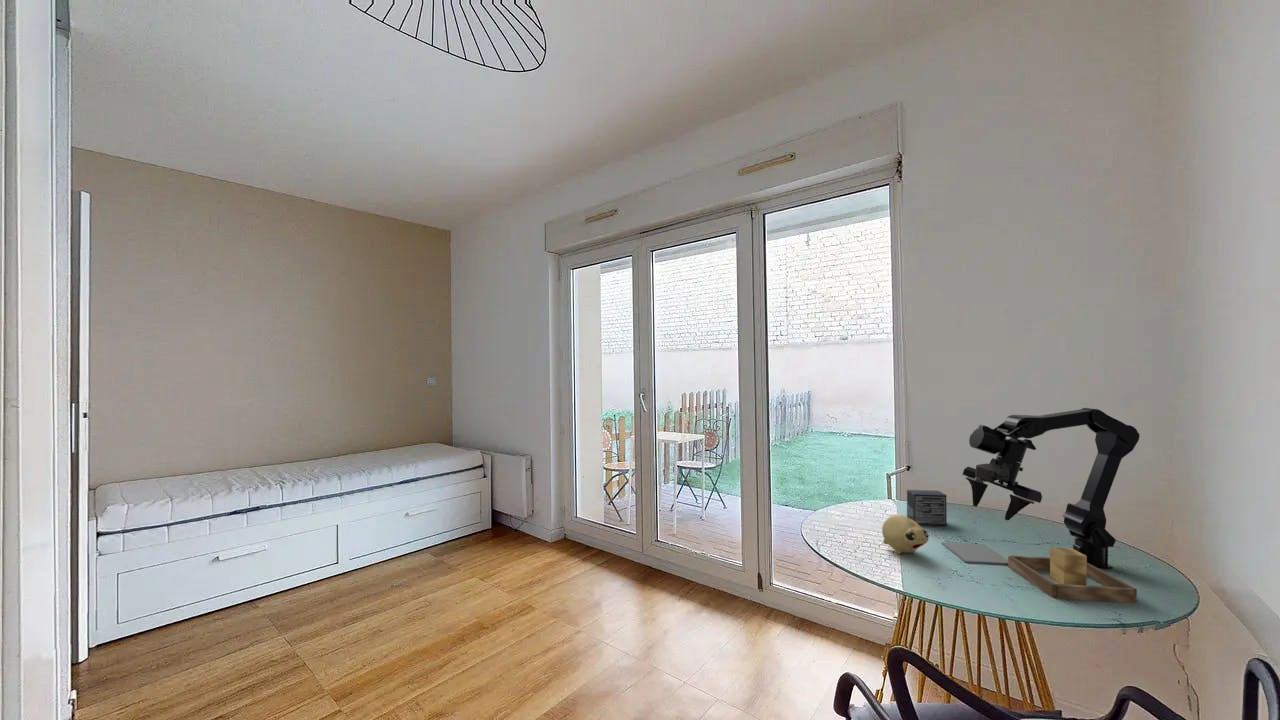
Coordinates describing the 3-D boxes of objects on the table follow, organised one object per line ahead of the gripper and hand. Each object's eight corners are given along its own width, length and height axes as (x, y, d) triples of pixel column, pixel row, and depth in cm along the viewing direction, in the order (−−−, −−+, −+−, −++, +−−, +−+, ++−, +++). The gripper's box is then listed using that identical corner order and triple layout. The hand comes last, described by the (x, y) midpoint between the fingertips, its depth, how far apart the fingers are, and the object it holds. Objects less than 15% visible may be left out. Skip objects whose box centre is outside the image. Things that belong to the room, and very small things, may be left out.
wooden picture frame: (1080, 570, 135) (1080, 558, 135) (1138, 603, 117) (1138, 590, 117) (1007, 566, 137) (1007, 555, 137) (1053, 598, 119) (1053, 585, 119)
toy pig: (907, 563, 138) (907, 524, 138) (874, 547, 150) (875, 511, 150) (935, 559, 141) (936, 521, 141) (901, 543, 153) (902, 508, 153)
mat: (984, 545, 152) (984, 544, 151) (1012, 565, 138) (1012, 563, 138) (941, 543, 153) (941, 542, 153) (965, 562, 139) (965, 560, 139)
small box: (937, 520, 175) (938, 489, 175) (947, 526, 169) (948, 495, 168) (905, 518, 176) (906, 488, 176) (914, 525, 170) (914, 493, 169)
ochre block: (1071, 579, 129) (1071, 548, 129) (1086, 588, 124) (1086, 556, 124) (1049, 578, 130) (1050, 547, 130) (1063, 587, 125) (1064, 555, 125)
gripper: (958, 443, 146) (940, 494, 147) (1024, 464, 129) (1003, 522, 129) (984, 451, 150) (967, 501, 150) (1052, 473, 132) (1032, 529, 133)
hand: (990, 512), depth 141 cm, fingers open, 9 cm apart
